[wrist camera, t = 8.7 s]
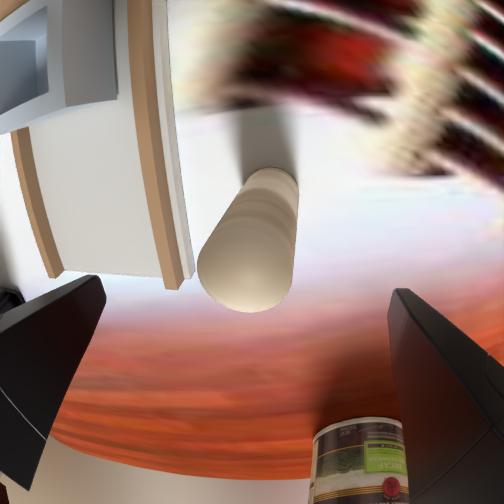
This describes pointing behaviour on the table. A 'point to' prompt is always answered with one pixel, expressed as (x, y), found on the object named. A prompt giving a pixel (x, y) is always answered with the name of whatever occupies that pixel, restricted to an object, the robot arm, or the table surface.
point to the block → (55, 60)
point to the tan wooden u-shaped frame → (112, 165)
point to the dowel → (253, 244)
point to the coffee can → (359, 463)
